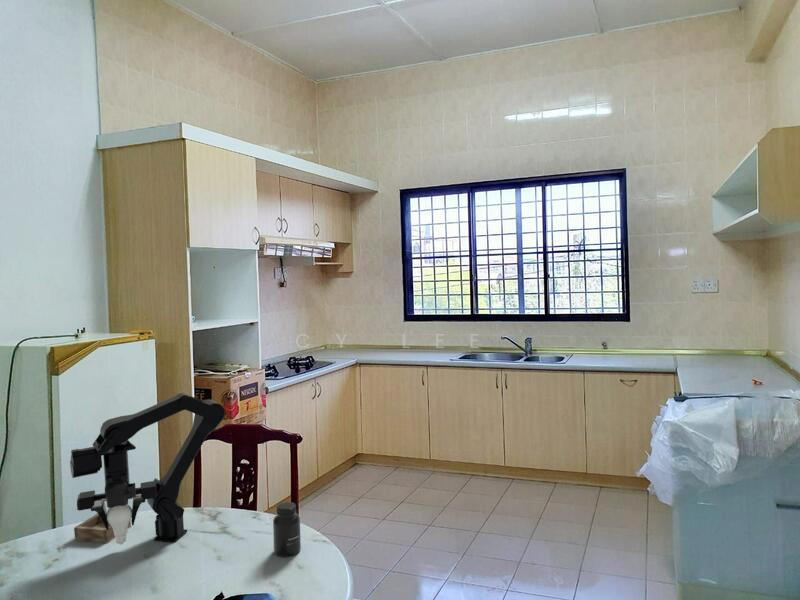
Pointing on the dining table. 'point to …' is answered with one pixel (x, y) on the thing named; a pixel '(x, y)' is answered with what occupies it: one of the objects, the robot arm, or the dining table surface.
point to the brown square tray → (94, 530)
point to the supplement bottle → (286, 530)
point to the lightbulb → (119, 521)
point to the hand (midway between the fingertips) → (120, 527)
